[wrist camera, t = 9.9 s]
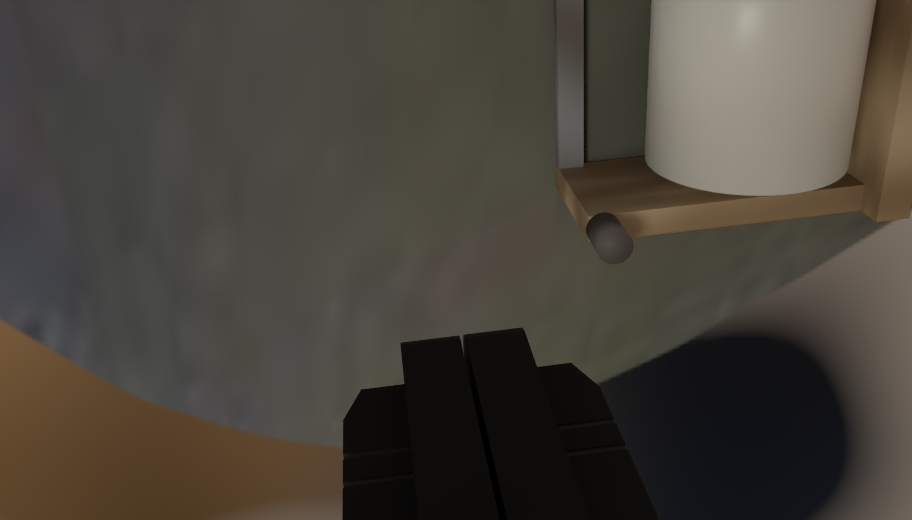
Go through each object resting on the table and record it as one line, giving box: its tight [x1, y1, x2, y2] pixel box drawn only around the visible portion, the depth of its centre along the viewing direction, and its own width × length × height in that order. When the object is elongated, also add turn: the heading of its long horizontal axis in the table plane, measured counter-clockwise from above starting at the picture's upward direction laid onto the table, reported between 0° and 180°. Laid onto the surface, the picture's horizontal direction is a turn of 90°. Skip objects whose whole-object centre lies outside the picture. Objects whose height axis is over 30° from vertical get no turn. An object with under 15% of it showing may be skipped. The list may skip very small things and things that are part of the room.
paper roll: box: [645, 0, 876, 196], centre depth 28 cm, size 10×7×7 cm
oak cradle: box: [554, 0, 912, 264], centre depth 28 cm, size 14×11×7 cm
